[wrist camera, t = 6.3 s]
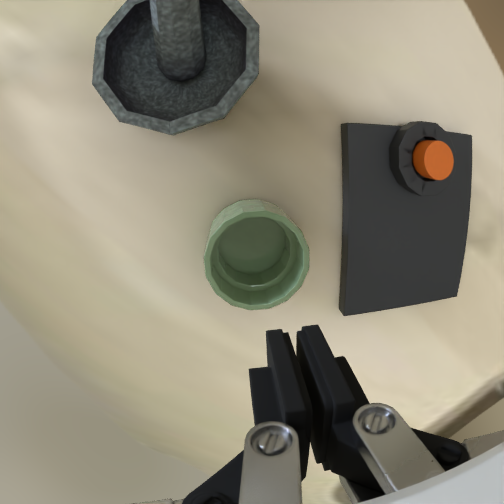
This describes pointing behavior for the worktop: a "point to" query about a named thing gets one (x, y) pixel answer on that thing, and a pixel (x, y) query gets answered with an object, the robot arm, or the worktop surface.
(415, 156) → the button
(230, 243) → the bowl
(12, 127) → the worktop surface
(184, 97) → the mortar and pestle
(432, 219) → the scale
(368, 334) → the worktop surface
